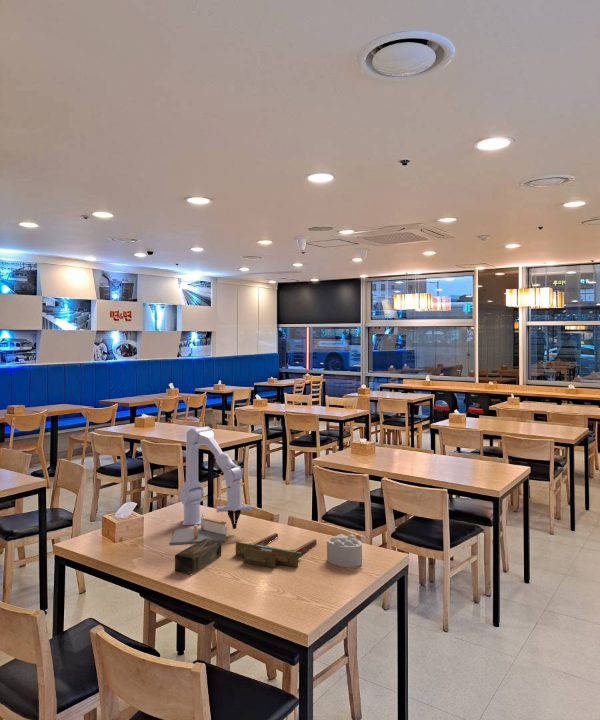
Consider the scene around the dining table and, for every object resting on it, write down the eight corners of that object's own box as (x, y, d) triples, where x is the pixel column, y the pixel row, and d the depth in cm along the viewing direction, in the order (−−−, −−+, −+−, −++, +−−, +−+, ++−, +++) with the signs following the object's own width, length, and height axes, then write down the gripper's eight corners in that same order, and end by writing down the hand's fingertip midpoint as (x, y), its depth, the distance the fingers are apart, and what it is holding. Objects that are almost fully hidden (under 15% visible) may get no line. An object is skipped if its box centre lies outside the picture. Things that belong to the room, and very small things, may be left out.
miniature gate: (325, 537, 212) (288, 558, 186) (325, 551, 212) (288, 574, 186) (266, 527, 225) (224, 546, 198) (266, 541, 225) (223, 561, 198)
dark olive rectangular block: (222, 556, 204) (222, 539, 204) (192, 576, 186) (191, 557, 186) (205, 553, 207) (204, 536, 207) (173, 572, 190) (173, 554, 190)
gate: (200, 529, 231) (199, 517, 231) (203, 527, 233) (202, 516, 233) (223, 534, 224) (223, 522, 224) (226, 533, 225) (226, 521, 225)
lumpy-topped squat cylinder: (342, 552, 205) (341, 529, 205) (369, 562, 196) (368, 538, 195) (323, 560, 198) (322, 536, 198) (350, 570, 188) (349, 545, 188)
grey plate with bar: (175, 531, 232) (174, 515, 232) (227, 528, 234) (226, 513, 234) (169, 544, 217) (169, 527, 216) (225, 541, 219) (225, 525, 218)
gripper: (215, 499, 223) (216, 532, 223) (251, 497, 224) (251, 530, 224) (216, 494, 230) (217, 526, 230) (251, 493, 231) (251, 525, 231)
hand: (234, 528), depth 228 cm, fingers closed
